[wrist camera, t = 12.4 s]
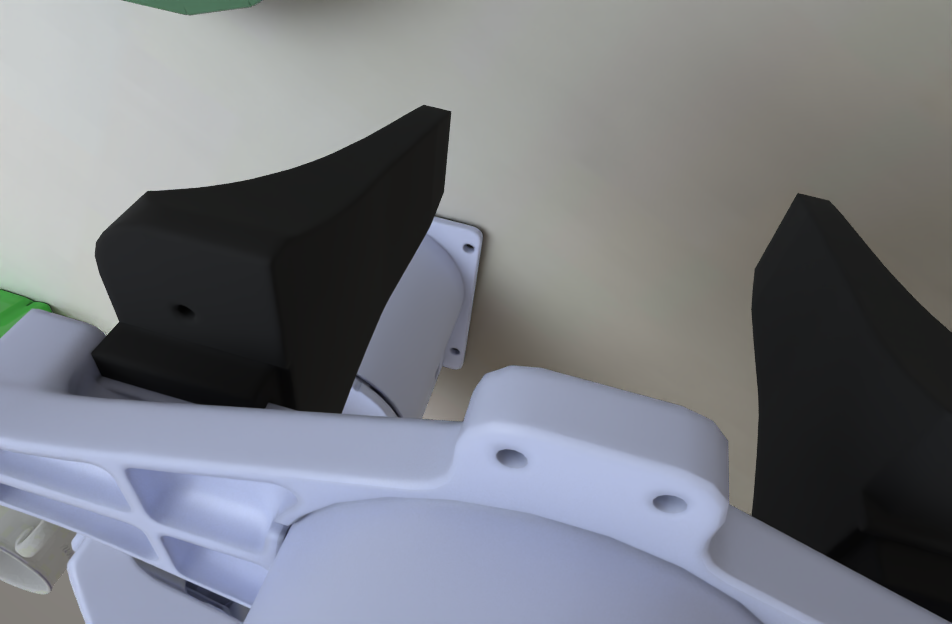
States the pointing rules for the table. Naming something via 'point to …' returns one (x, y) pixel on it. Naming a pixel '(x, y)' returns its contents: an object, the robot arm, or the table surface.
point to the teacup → (32, 551)
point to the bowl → (196, 5)
